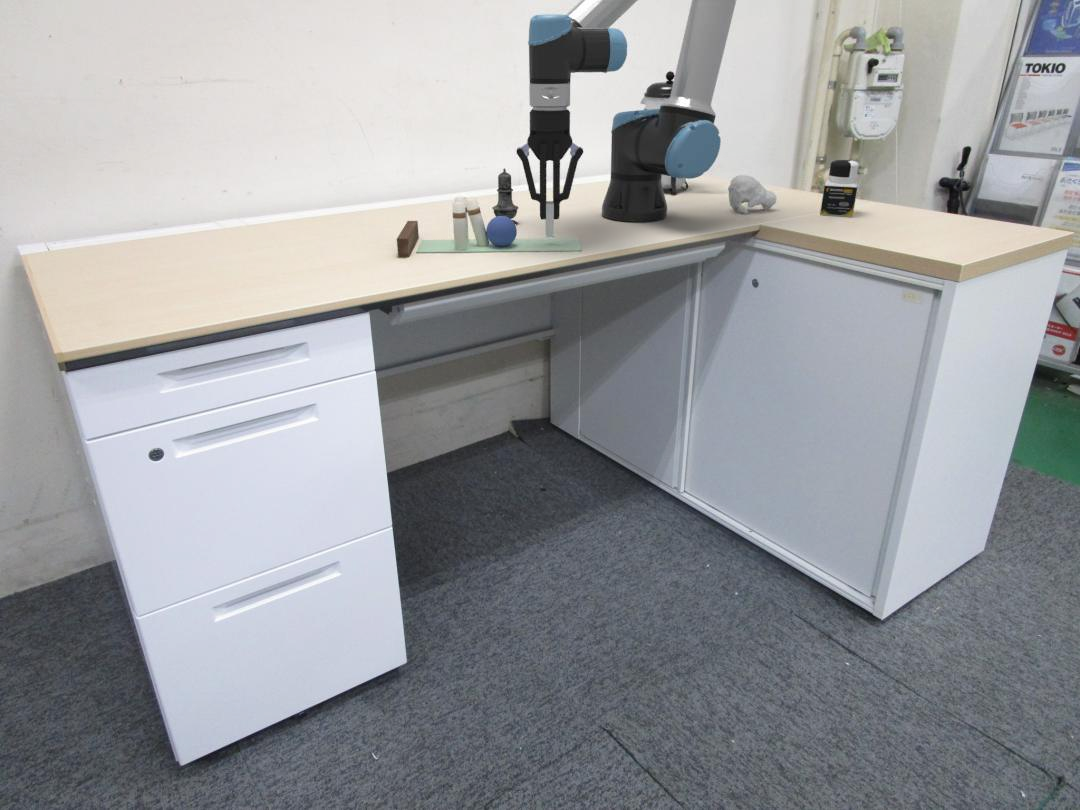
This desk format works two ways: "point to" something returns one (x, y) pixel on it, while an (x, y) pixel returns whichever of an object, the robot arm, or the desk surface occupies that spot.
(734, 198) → the grey animal figurine
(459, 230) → the pin rear left
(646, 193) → the robot arm
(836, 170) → the medicine bottle
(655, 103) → the coffee press
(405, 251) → the backstop
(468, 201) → the pin front
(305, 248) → the desk surface
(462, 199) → the pin rear right
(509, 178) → the salt shaker
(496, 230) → the ball
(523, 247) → the lane mark
